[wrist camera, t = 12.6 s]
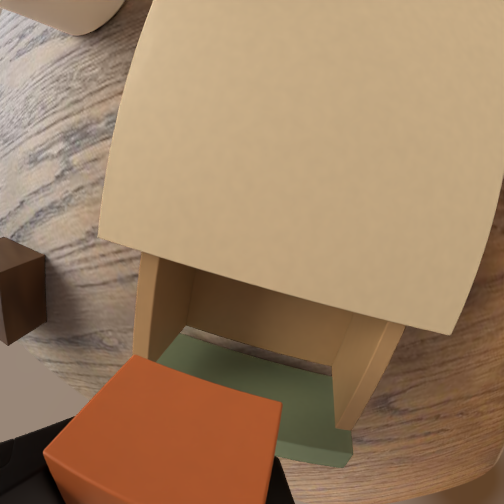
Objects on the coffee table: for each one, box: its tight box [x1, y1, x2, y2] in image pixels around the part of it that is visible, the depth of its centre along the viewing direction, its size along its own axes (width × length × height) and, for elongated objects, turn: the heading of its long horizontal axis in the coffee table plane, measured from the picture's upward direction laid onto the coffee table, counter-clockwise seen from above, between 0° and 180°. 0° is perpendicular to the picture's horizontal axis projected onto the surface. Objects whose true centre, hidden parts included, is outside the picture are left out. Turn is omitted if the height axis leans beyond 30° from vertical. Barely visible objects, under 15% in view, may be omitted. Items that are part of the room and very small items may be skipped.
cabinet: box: [98, 0, 504, 336], centre depth 11 cm, size 20×13×8 cm, turn 167°
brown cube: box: [0, 237, 47, 346], centre depth 19 cm, size 6×6×5 cm
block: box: [43, 355, 283, 504], centre depth 6 cm, size 4×4×4 cm
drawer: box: [132, 252, 406, 468], centre depth 14 cm, size 23×11×6 cm, turn 167°
